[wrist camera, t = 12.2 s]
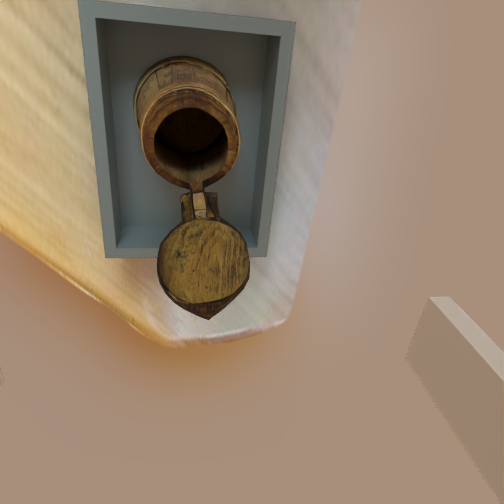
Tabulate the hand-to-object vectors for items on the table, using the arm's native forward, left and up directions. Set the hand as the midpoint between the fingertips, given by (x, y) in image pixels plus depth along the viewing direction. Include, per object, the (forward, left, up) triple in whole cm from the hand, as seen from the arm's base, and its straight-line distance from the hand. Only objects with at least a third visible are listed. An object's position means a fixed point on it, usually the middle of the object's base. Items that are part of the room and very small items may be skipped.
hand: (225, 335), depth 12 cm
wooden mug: (+1, 0, -28) cm, 28 cm away
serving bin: (+1, 0, -29) cm, 29 cm away
